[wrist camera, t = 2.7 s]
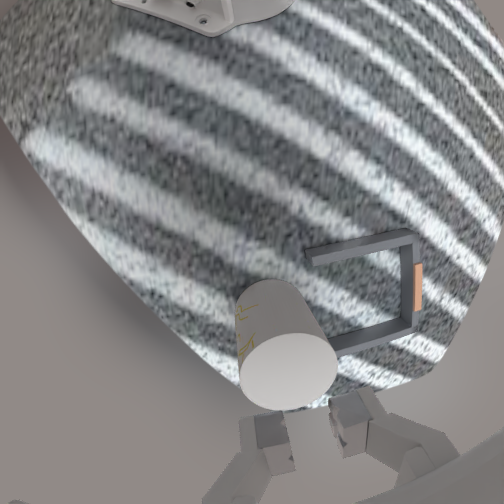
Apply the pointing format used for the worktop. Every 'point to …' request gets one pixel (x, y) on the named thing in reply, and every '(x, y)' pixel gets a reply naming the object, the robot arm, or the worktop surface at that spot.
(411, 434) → the robot arm
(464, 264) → the worktop surface
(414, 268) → the bracket
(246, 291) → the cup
